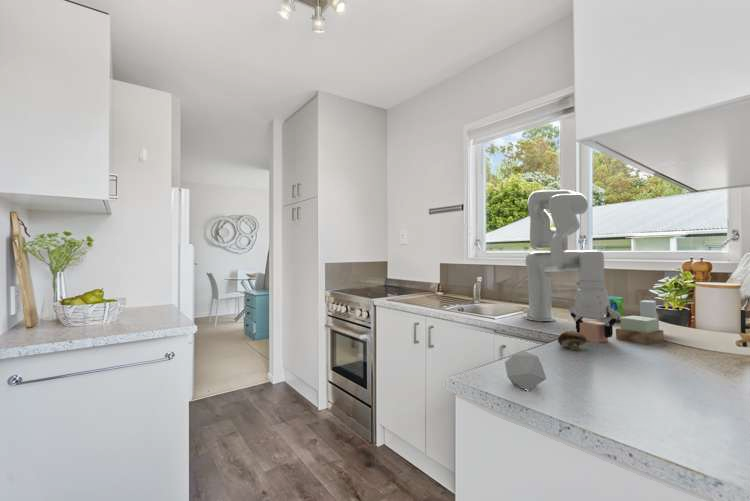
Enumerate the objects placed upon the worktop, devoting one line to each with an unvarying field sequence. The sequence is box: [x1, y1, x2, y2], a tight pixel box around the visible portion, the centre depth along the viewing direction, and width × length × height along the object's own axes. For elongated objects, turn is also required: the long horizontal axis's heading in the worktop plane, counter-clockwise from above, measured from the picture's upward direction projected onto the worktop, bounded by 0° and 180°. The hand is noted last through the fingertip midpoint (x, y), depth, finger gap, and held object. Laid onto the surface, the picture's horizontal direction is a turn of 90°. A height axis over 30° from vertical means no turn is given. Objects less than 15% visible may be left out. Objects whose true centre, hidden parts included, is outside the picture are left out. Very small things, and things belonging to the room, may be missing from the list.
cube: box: [579, 320, 609, 344], centre depth 123 cm, size 6×6×6 cm
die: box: [504, 350, 547, 391], centre depth 81 cm, size 8×9×10 cm
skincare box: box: [639, 299, 658, 319], centre depth 131 cm, size 6×4×12 cm
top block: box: [619, 314, 660, 333], centre depth 121 cm, size 8×8×4 cm
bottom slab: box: [615, 327, 665, 346], centre depth 122 cm, size 10×10×4 cm
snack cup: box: [608, 295, 624, 321], centre depth 159 cm, size 16×10×10 cm
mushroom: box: [557, 330, 588, 351], centre depth 112 cm, size 8×8×6 cm
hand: (593, 334), depth 123 cm, fingers open, 9 cm apart
